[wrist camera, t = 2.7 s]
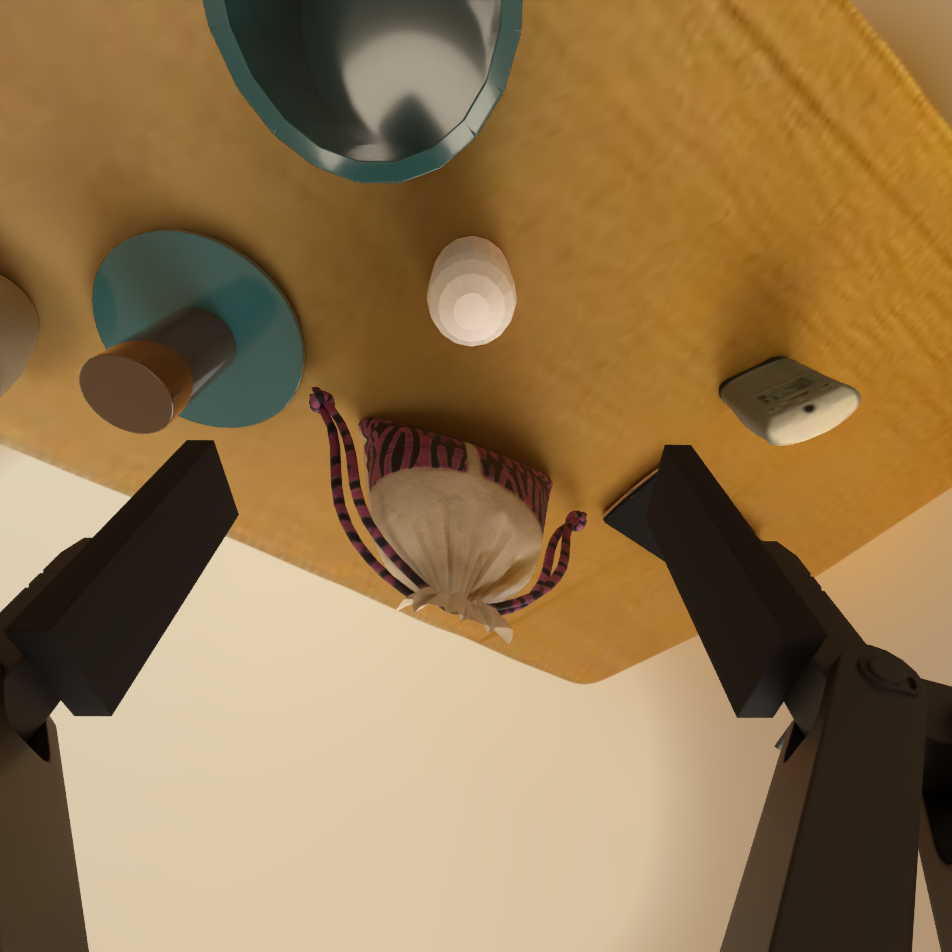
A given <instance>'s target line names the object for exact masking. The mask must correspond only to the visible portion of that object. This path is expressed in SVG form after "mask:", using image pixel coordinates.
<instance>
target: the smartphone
mask: <svg viewBox="0 0 952 952" xmlns="http://www.w3.org/2000/svg"><path fill="white" fill-rule="evenodd" d="M657 472H658V469H656V470H655V471H653V472H652V473H651V474H649V475H648V476H646V477H645V478H644V479H643V480H641V481H640V482H639V483H638V484H637V485H635V486H634V487H633V488H632V489H631V490H629V491H628V492H627V493H626V494H625V495H624V496H623V497H621V498H620V499H619V500H618V501H617V502H616V503H615V504H614V505H613V506H612V507H611V508H610V509H609V510H608V511H607V512H606V513H605V514H604V515H603V520H604V522H605V523H606V524H608V525H610V526H611V527H613V528H614V529H616V530H617V531H619V532H620V533H622V534H624V535H625V536H627V537H628V538H630V539H631V540H633V541H634V542H636V543H637V544H639V545H640V546H642V547H643V548H645V549H646V550H648V551H650V552H651V553H653V554H654V555H656V556H657V557H659V558H660V559H662V560H663V561H665V560H664V558H663V556H662V554H661V552H660V550H659V547H658V545H657V543H656V541H655V539H654V537H653V534H652V532H651V530H650V528H649V526H648V524H647V521H646V519H645V516H646V512H647V508H648V505H649V501H650V497H651V494H652V490H653V486H654V483H655V479H656V475H657ZM757 537H758V538H759V540H760V541H763V540H762V539H761V538H760V537H759V536H757Z"/></svg>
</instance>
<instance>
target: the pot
mask: <svg viewBox="0 0 952 952" xmlns="http://www.w3.org/2000/svg"><path fill="white" fill-rule="evenodd" d="M522 3H523V0H203V4H204V8H205V13H206V17H207V21H208V26H209V28H210V31H211V33H212V35H213V37H214V40H215V42H216V44H217V46H218V48H219V50H220V52H221V55H222V57H223V59H224V61H225V63H226V65H227V67H228V70H229V72H230V74H231V76H232V78H233V80H234V82H235V84H236V87H237V88H238V89H239V91H240V93H241V94H242V95H243V96H244V98H245V99H246V100H247V102H248V103H249V104H250V105H251V107H252V108H253V109H254V110H255V112H256V113H257V114H258V116H259V117H260V118H261V119H262V121H263V122H264V123H265V125H266V126H267V127H268V128H269V130H270V131H271V132H272V134H275V136H276V137H277V138H278V139H279V140H281V141H282V142H283V143H285V144H286V145H287V146H288V147H290V148H291V149H292V150H294V151H295V152H296V153H298V154H299V155H300V156H301V157H303V158H304V159H305V160H307V161H308V162H309V163H311V164H312V165H313V166H315V167H316V168H319V169H322V170H324V171H327V172H330V173H332V174H335V175H338V176H341V177H343V178H346V179H349V180H351V181H354V182H359V183H404V182H406V181H409V180H411V179H414V178H417V177H419V176H422V175H425V174H427V173H430V172H433V171H435V170H438V169H440V168H441V167H443V166H444V165H445V164H447V163H448V162H449V161H450V160H451V159H452V158H454V157H455V156H456V155H457V154H458V153H459V152H460V151H462V150H463V149H464V148H465V147H466V146H467V145H468V144H470V143H471V142H472V141H473V140H474V139H475V138H476V136H477V135H478V134H479V132H480V131H481V129H482V127H483V126H484V124H485V123H486V121H487V119H488V118H489V116H490V114H491V113H492V111H493V109H494V108H495V106H496V104H497V103H498V101H499V99H500V98H501V96H502V94H503V92H504V90H505V87H506V84H507V80H508V77H509V73H510V70H511V66H512V63H513V59H514V56H515V52H516V49H517V45H518V42H519V38H520V35H521V33H520V32H521V25H522Z"/></svg>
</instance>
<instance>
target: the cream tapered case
mask: <svg viewBox="0 0 952 952" xmlns="http://www.w3.org/2000/svg"><path fill="white" fill-rule="evenodd" d="M719 394H720V398H721V399H722V400H723V402H724V403H727V405H728V406H729V407H730V408H731V409H732V411H733V412H734V413H735V414H736V416H737V417H738V419H739V420H740V421H741V422H742V423H743V424H744V425H745V426H746V427H747V428H748V429H749V430H751V431H752V432H753V433H755V434H756V435H758V436H760V437H762V438H763V439H765V440H767V442H768V443H769V444H770V445H773V446H786V445H792V444H796V443H799V442H803V441H806V440H808V439H811V438H813V437H816V436H818V435H821V434H823V433H825V432H827V431H829V430H831V429H833V428H834V427H836V426H837V425H839V424H840V423H842V422H843V421H844V420H845V419H847V418H848V417H849V416H850V415H851V414H852V413H853V412H854V411H855V410H856V409H857V407H858V406H859V404H860V400H861V399H860V394H859V392H858V391H857V390H856V389H855V388H853V387H851V386H849V385H847V384H844V383H841V382H839V381H837V380H834V379H832V378H829V377H827V376H825V375H823V374H821V373H819V372H817V371H815V370H813V369H811V368H809V367H807V366H805V365H803V364H800V363H799V362H797V361H795V360H793V359H789V358H786V357H773V358H771V359H769V360H767V361H765V362H763V363H761V364H760V365H757V366H755V367H753V368H751V369H749V370H747V371H744V372H742V373H740V374H738V375H736V376H734V377H732V378H730V379H728V380H726V381H725V382H724V383H723V384H722V385H721V386H720V389H719Z"/></svg>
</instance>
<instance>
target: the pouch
mask: <svg viewBox="0 0 952 952" xmlns="http://www.w3.org/2000/svg"><path fill="white" fill-rule="evenodd" d="M312 391H313V392H314V393H313V394H310V395H309V396H310V398H309V404H310V408H311V409H312V410H313V411H314V412H317V413H320V414H321V416H322V418H323V420H324V422H325V424H326V426H327V430H328V437H329V443H330V463H331V487H332V494H333V501H334V506H335V509H336V512H337V514H338V517H339V520H340V523H341V525H342V527H343V529H344V531H345V532H346V534H347V536H348V538H349V539H350V541H351V543H352V545H353V546H354V547H355V548H356V550H357V551H358V552H359V554H360V555H361V556H362V557H363V559H364V560H365V561H366V562H367V563H368V564H369V565H370V566H371V567H372V568H373V569H374V570H375V571H376V572H377V573H378V574H379V575H380V576H381V577H382V578H383V579H384V580H385V581H387V582H388V583H389V584H390V585H392V586H393V587H394V588H396V589H397V590H398V591H399V592H401V593H402V594H404V595H405V596H406V598H405V599H404V600H403V601H402V602H401V604H400V605H399V607H398V608H397V610H396V611H398V610H400V609H402V608H404V607H406V606H408V605H410V604H412V606H413V609H414V612H416V611H418V610H420V609H421V608H423V607H425V606H426V605H429V604H432V605H436V606H438V607H440V608H441V609H442V610H444V611H447V612H450V613H452V614H460V618H461V621H463V620H465V619H470V620H475V621H477V622H480V623H482V624H483V625H484V628H485V630H486V633H487V635H488V634H489V633H490V632H492V631H493V630H495V631H496V632H497V633H498V634H499V635H500V636H501V637H502V638H503V639H504V640H505V641H506V642H507V643H508V644H510V642H511V640H512V637H513V630H512V628H511V627H510V625H509V624H508V623H507V621H506V620H505V619H504V618H503V617H502V616H501V615H505V614H509V613H513V612H515V611H517V610H520V609H522V608H524V607H526V606H528V605H529V604H530V603H532V602H533V601H534V600H536V599H538V598H540V597H541V596H543V595H544V594H546V593H548V592H549V591H551V589H552V588H553V587H554V586H555V585H556V584H557V583H558V582H559V581H560V580H561V578H562V576H563V575H564V573H565V571H566V570H567V566H568V562H569V555H570V537H571V533H572V530H573V531H580V530H582V529H583V528H584V527H585V524H586V522H587V520H586V516H587V514H586V513H585V512H580V511H572V512H570V513H569V514H568V516H567V517H566V523H565V524H563V525H562V526H560V527H559V528H558V529H557V530H556V531H555V532H554V534H553V535H552V537H551V538H550V541H549V544H548V546H547V549H546V554H545V558H544V563H543V567H542V572H541V574H540V577H539V579H538V581H537V583H536V585H535V586H534V587H533V589H532V590H531V592H530V593H528V594H526V595H523V596H520V597H518V598H515V599H511V600H506V601H504V600H505V599H508V598H510V597H513V596H514V595H515V594H517V593H518V592H519V591H520V590H521V589H523V588H524V587H525V586H526V585H527V584H528V582H529V581H530V579H531V577H532V575H533V573H534V571H535V569H536V566H537V562H538V558H539V555H540V549H541V544H542V538H543V532H544V525H545V519H546V512H547V506H548V501H549V494H550V491H551V488H552V484H553V483H552V481H551V480H550V478H549V477H548V476H546V475H545V474H543V473H541V472H540V471H538V470H536V469H533V468H531V467H529V466H527V465H524V464H522V463H519V462H517V461H515V460H512V459H510V458H507V457H505V456H502V455H500V454H497V453H495V452H492V451H489V450H487V449H484V448H481V447H478V446H476V445H473V444H470V443H467V442H463V441H460V440H457V439H454V438H451V437H448V436H444V435H441V434H437V433H434V432H430V431H427V430H423V429H419V428H416V427H413V426H409V425H405V424H401V423H397V422H393V421H390V420H384V419H379V418H367V419H363V420H361V421H360V423H359V424H358V428H359V431H360V434H361V438H362V442H363V447H364V460H365V468H366V470H365V472H366V482H367V492H368V503H369V511H368V508H367V506H366V504H365V500H364V497H363V493H362V490H361V486H360V479H359V472H358V464H357V456H356V452H355V448H354V444H353V440H352V437H351V435H350V433H349V430H348V428H347V425H346V423H345V421H344V420H343V418H342V417H341V416H340V414H339V413H338V411H337V410H336V408H335V407H334V405H335V402H334V399H333V396H332V394H330V393H327V392H325V391H322V390H321V389H320V388H318V387H312ZM329 413H330V414H331V416H332V417H333V419H334V420H335V422H336V424H337V426H338V429H339V431H340V434H341V436H342V438H343V443H344V447H345V452H346V459H347V468H348V477H349V486H350V490H351V493H352V497H353V501H354V504H355V506H356V508H357V511H358V513H359V515H360V518H361V520H362V522H363V524H364V525H365V527H366V528H367V530H368V531H369V533H370V534H371V536H372V537H373V539H374V542H375V546H376V549H377V551H378V553H379V555H380V557H381V559H382V561H383V563H384V565H385V566H386V567H387V569H388V570H389V571H388V570H387V569H386V568H384V567H383V566H382V565H381V564H380V563H379V562H378V561H377V560H376V559H375V557H374V556H373V555H372V554H371V552H370V551H369V550H368V549H367V547H366V546H365V545H364V544H363V542H362V541H361V539H360V537H359V535H358V534H357V532H356V530H355V528H354V527H353V525H352V522H351V520H350V517H349V514H348V512H347V509H346V506H345V501H344V495H343V489H342V476H341V456H340V444H339V438H338V433H337V428H336V426H335V424H334V422H333V420H332V418H331V416H330V414H329ZM369 512H370V513H369ZM561 536H562V543H561V553H560V558H559V562H558V565H557V567H556V569H555V571H554V572H553V574H552V575H551V570H552V565H553V559H554V554H555V550H556V547H557V544H558V541H559V539H560V538H561ZM550 575H551V577H550Z"/></svg>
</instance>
